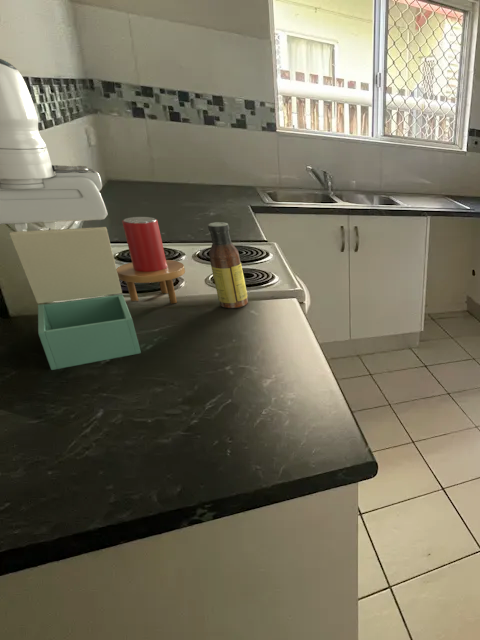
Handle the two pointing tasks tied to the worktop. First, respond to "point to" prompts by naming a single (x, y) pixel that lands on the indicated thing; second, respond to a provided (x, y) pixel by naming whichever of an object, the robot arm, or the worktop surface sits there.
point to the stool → (152, 278)
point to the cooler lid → (67, 263)
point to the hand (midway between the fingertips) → (43, 247)
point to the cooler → (86, 331)
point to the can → (145, 243)
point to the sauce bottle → (226, 267)
